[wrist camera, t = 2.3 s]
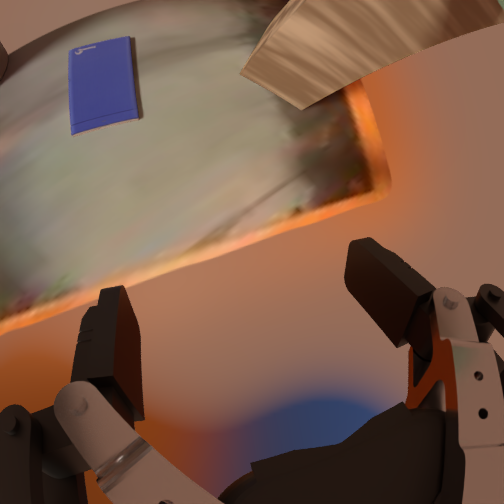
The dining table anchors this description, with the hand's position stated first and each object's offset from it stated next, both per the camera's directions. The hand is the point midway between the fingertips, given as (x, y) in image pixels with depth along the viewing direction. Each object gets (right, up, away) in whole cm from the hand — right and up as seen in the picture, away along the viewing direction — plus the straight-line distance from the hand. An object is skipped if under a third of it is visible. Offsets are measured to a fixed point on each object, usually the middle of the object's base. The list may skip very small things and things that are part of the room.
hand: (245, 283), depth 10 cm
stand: (+5, +29, +25) cm, 39 cm away
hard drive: (-18, +21, +17) cm, 33 cm away
